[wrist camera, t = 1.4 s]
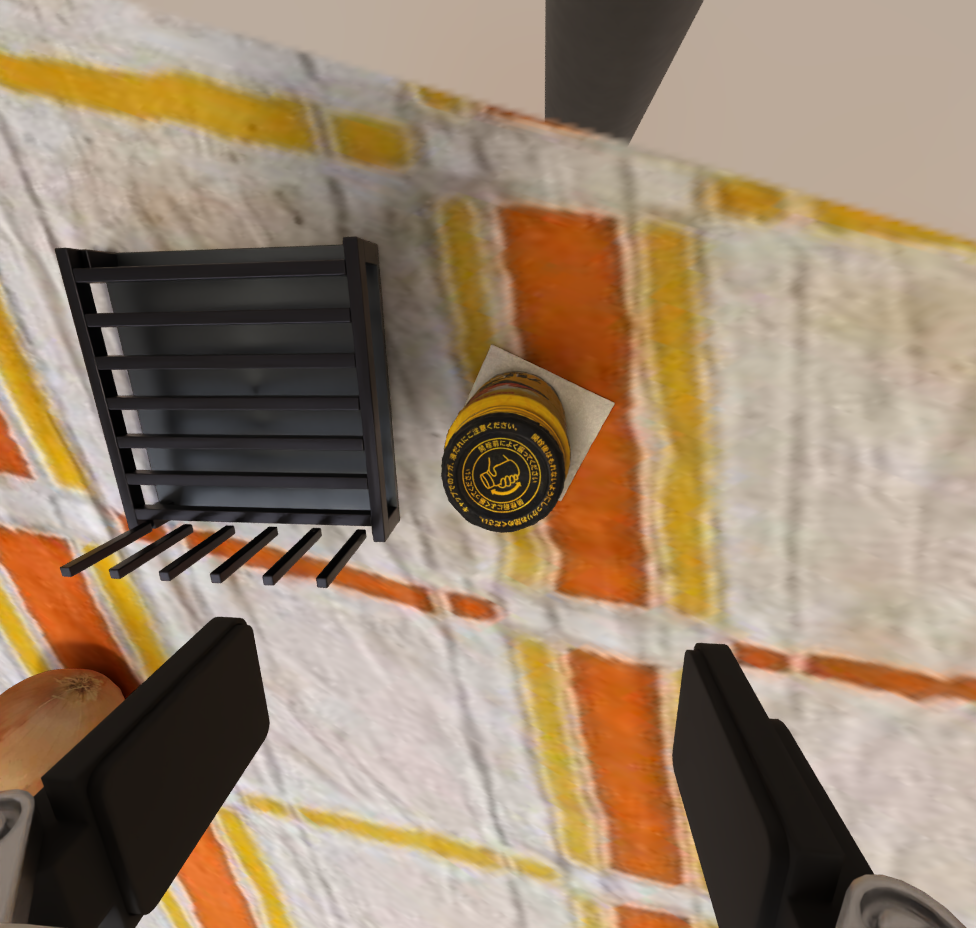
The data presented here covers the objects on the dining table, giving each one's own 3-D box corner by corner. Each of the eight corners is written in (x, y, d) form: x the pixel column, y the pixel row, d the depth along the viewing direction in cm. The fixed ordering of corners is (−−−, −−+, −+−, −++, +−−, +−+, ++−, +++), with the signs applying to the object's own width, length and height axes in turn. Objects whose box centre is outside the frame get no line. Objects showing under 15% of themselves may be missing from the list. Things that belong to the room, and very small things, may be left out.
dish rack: (104, 254, 31) (-73, 232, 22) (377, 244, 29) (304, 216, 20) (166, 514, 37) (44, 580, 28) (400, 520, 35) (350, 594, 26)
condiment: (491, 343, 30) (460, 366, 19) (614, 402, 30) (656, 459, 19) (446, 445, 32) (394, 520, 21) (560, 499, 33) (569, 601, 21)
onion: (48, 709, 44) (-87, 818, 35) (56, 625, 41) (-90, 720, 32) (147, 748, 44) (40, 868, 35) (163, 668, 41) (51, 775, 32)
